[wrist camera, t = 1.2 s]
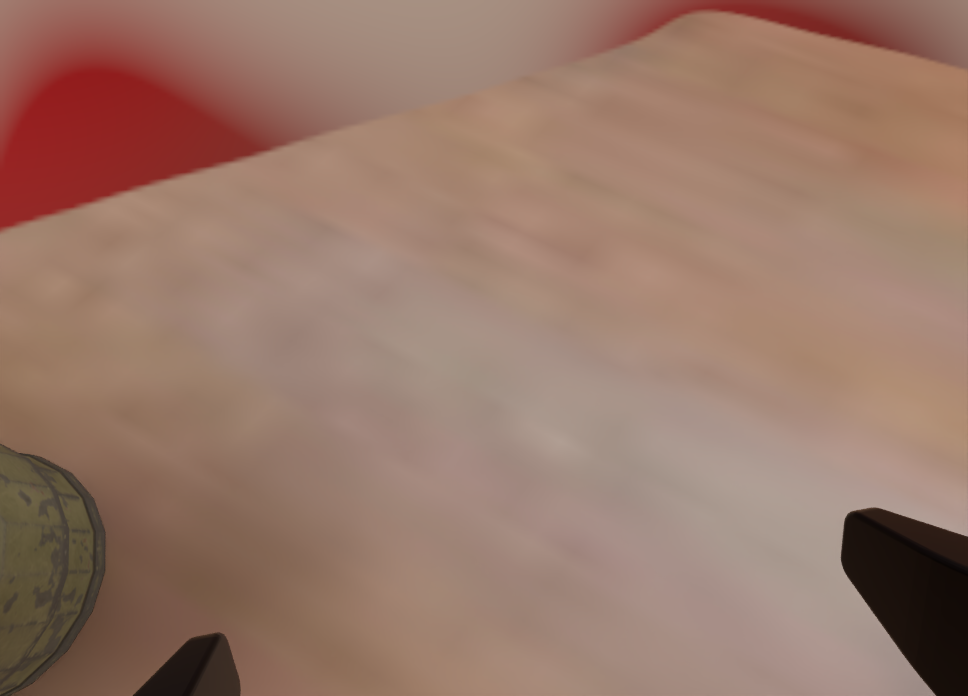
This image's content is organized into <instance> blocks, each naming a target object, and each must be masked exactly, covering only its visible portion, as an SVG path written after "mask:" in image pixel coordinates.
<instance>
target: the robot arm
mask: <svg viewBox="0 0 968 696" xmlns="http://www.w3.org/2000/svg"><path fill="white" fill-rule="evenodd" d="M841 562H842V566H843V569H844V571H845V573H846V575H847V577H848V578H849V579H850V581H851V582H852V584H853V585H854V586H855V588H856V589H857V591H858V592H859V593H860V595H861V596H862V598H863V599H864V600H865V602H866V603H867V605H868V606H869V607H870V609H871V610H872V612H873V613H874V614H875V616H876V617H877V619H878V620H879V621H880V623H881V624H882V626H883V627H884V628H885V630H886V631H887V633H888V634H889V635H890V637H891V638H892V640H893V641H894V642H895V644H896V645H897V647H898V648H899V649H900V651H901V652H902V654H903V655H904V656H905V658H906V659H907V660H908V662H909V663H910V664H911V666H912V667H913V668H914V670H915V671H916V672H917V673H918V674H919V676H920V677H921V678H922V679H923V681H924V682H925V683H926V684H927V685H928V687H929V688H930V689H931V690H932V691H933V693H934V694H935V695H936V696H968V537H967V536H964V535H961V534H958V533H954V532H951V531H948V530H945V529H942V528H939V527H936V526H933V525H930V524H927V523H924V522H920V521H917V520H914V519H911V518H908V517H905V516H902V515H899V514H896V513H893V512H890V511H886V510H883V509H880V508H867V509H861V510H856V511H852V512H850V513H848V514H847V516H846V518H845V521H844V530H843V540H842V550H841ZM240 691H241V690H240V680H239V676H238V673H237V669H236V666H235V663H234V660H233V656H232V653H231V650H230V646H229V643H228V640H227V638H226V637H225V635H224V634H222V633H212V634H207V635H202V636H197V637H193V638H191V639H189V640H188V641H187V642H186V643H185V644H184V645H183V646H182V647H181V648H180V649H179V650H178V651H177V652H176V653H175V654H174V655H173V656H172V657H171V658H170V659H169V660H168V661H167V662H166V663H165V664H164V665H163V666H162V667H161V668H160V669H159V670H158V671H157V672H156V673H155V674H154V675H153V676H152V677H151V678H150V679H149V680H148V681H147V682H146V683H145V684H144V685H143V686H142V687H141V688H140V689H139V690H138V691H137V692H136V693H135V694H134V695H133V696H240Z"/></svg>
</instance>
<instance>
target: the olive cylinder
mask: <svg viewBox="0 0 968 696" xmlns="http://www.w3.org/2000/svg"><path fill="white" fill-rule="evenodd" d="M104 573H105V530H104V527H103V524H102V521H101V518H100V515H99V513H98V510H97V507H96V504H95V501H94V498H93V497H92V496H91V495H90V494H89V493H88V491H87V490H86V489H85V488H84V487H83V486H82V484H81V483H80V482H79V481H78V480H77V479H76V478H75V476H74V475H73V474H72V473H71V472H69V471H67V470H65V469H63V468H61V467H59V466H57V465H55V464H53V463H51V462H50V461H48V460H46V459H44V458H42V457H38V456H34V455H30V454H22V453H17V452H15V451H13V450H11V449H9V448H7V447H6V446H4V445H2V444H0V696H10V695H11V694H13V693H15V692H17V691H19V690H21V689H23V688H24V687H26V686H28V685H30V684H32V683H33V682H34V681H35V680H36V679H38V678H39V677H40V676H41V675H42V674H43V673H44V672H45V671H46V670H47V669H48V668H49V667H50V666H51V665H53V664H54V663H55V662H56V661H57V660H58V659H59V658H60V657H61V656H62V655H63V654H64V653H65V652H66V651H68V649H69V647H70V646H71V644H72V643H73V641H74V640H75V638H76V636H77V635H78V633H79V632H80V630H81V629H82V627H83V625H84V624H85V622H86V621H87V619H88V618H89V616H90V614H91V613H92V611H93V608H94V605H95V601H96V598H97V595H98V592H99V589H100V585H101V582H102V579H103V576H104Z"/></svg>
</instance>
